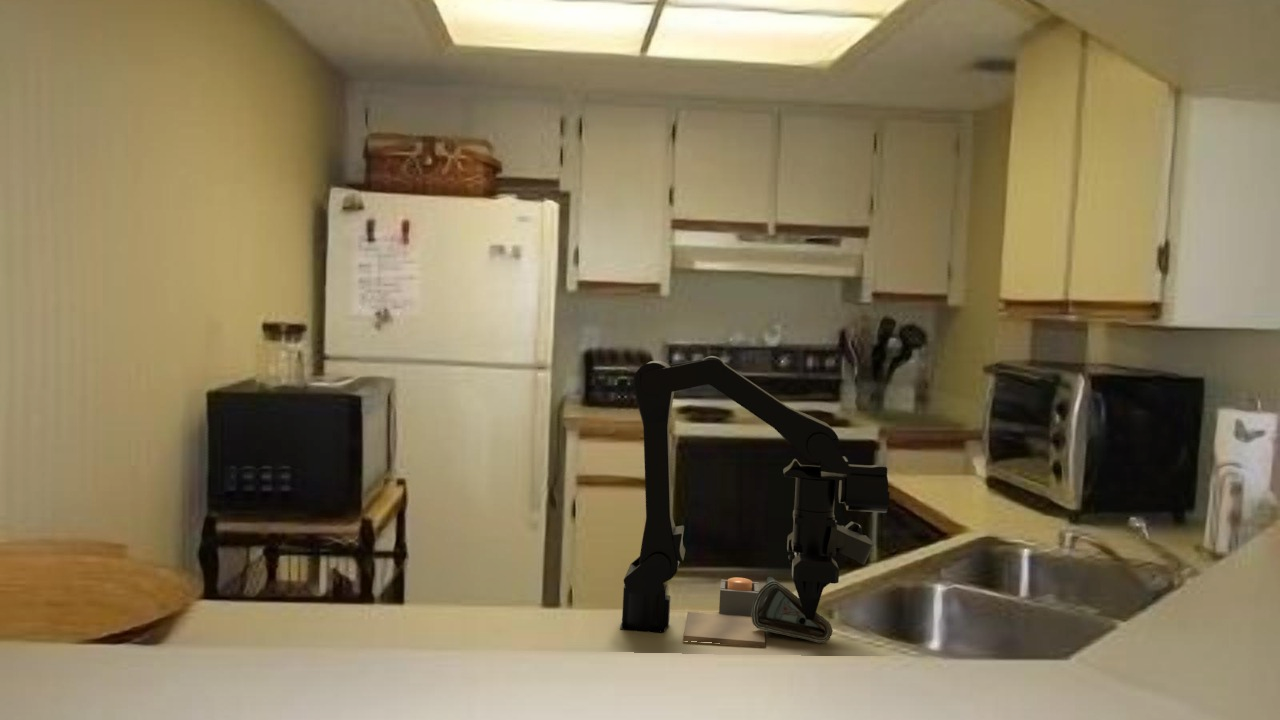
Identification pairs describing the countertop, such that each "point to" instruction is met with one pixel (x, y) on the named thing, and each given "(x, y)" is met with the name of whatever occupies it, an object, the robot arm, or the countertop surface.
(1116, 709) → the countertop surface
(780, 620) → the chocolate cake
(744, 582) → the brown egg
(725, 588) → the housing
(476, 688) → the countertop surface
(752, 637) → the serving board
